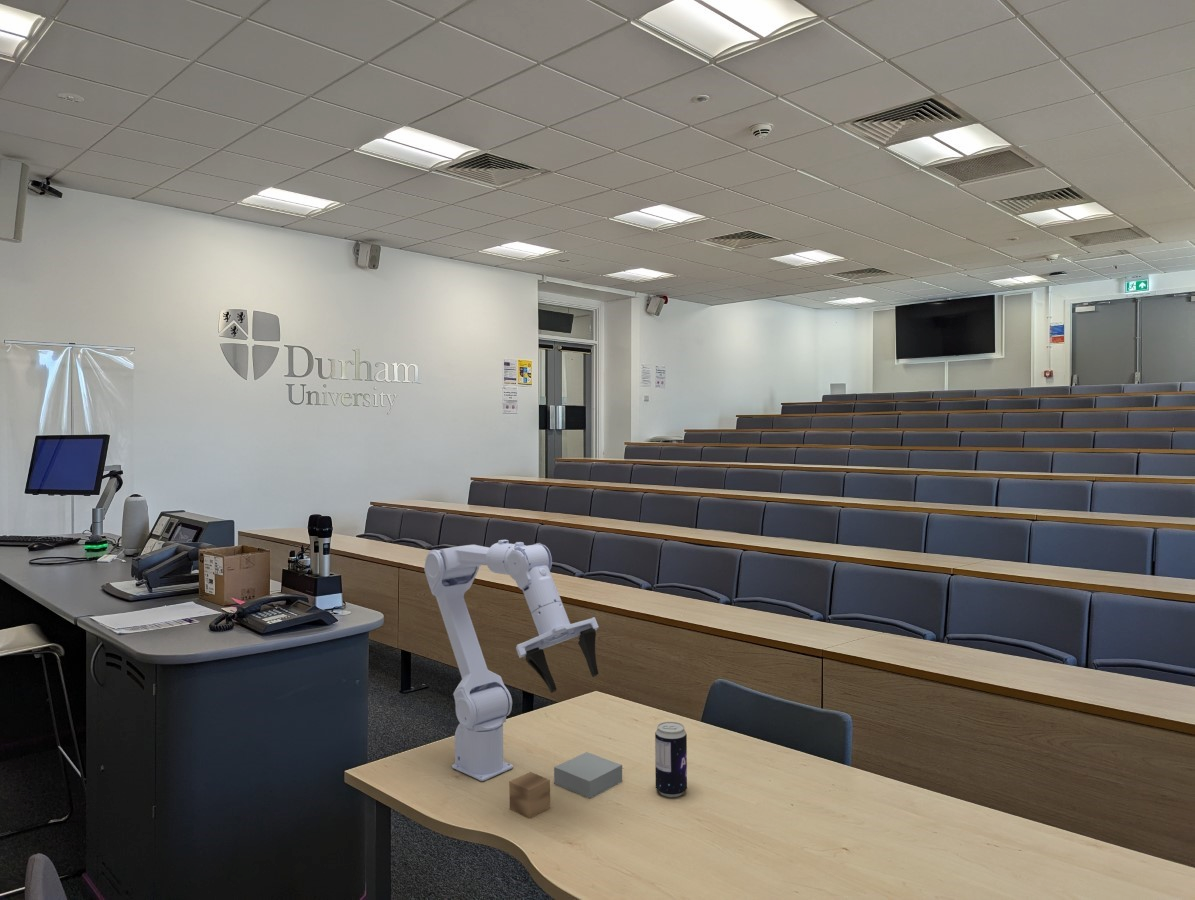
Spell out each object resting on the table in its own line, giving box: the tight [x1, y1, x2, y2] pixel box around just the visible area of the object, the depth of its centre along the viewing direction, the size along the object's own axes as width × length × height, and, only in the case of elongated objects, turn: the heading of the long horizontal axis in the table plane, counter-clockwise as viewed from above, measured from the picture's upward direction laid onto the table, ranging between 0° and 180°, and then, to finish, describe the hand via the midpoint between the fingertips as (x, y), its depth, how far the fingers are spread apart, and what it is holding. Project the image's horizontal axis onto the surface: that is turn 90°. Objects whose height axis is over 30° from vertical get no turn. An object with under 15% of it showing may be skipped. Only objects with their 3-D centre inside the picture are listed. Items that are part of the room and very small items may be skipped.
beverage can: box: [654, 721, 688, 798], centre depth 142 cm, size 6×6×12 cm
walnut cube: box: [508, 771, 551, 820], centre depth 136 cm, size 5×5×5 cm
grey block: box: [553, 751, 623, 799], centre depth 146 cm, size 9×9×4 cm
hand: (575, 683), depth 132 cm, fingers open, 7 cm apart
